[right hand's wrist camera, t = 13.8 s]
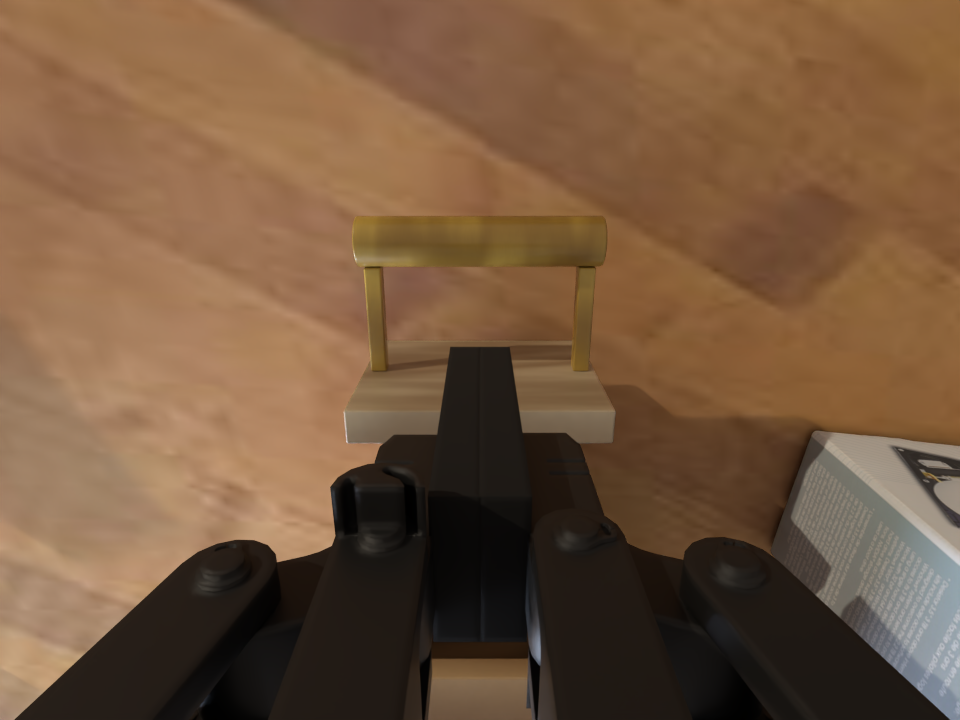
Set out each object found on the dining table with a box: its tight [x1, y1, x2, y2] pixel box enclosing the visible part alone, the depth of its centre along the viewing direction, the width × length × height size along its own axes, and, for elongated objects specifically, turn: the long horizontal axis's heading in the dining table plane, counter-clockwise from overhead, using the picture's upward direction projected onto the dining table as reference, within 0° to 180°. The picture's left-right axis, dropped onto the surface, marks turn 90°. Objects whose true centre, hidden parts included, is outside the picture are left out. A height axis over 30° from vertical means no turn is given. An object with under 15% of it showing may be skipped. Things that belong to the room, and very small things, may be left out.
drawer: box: [344, 216, 616, 659], centre depth 23 cm, size 21×9×7 cm, turn 0°
